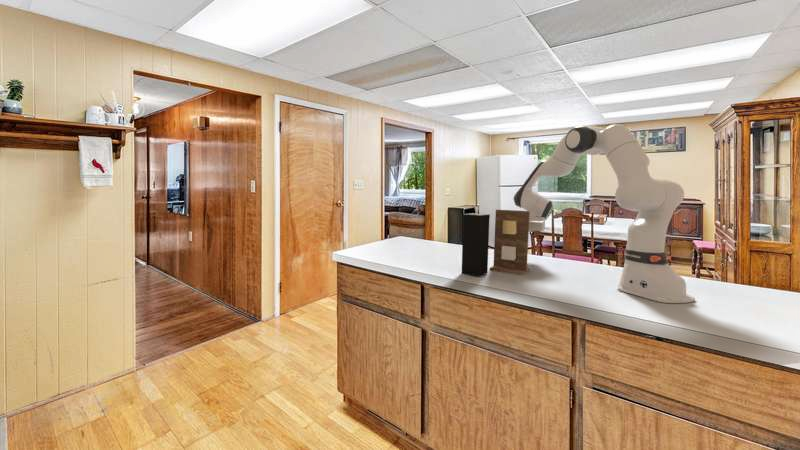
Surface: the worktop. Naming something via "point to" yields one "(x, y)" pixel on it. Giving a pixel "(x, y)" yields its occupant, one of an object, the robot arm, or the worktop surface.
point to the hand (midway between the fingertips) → (516, 225)
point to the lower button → (508, 253)
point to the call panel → (511, 242)
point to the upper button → (509, 227)
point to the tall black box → (475, 243)
